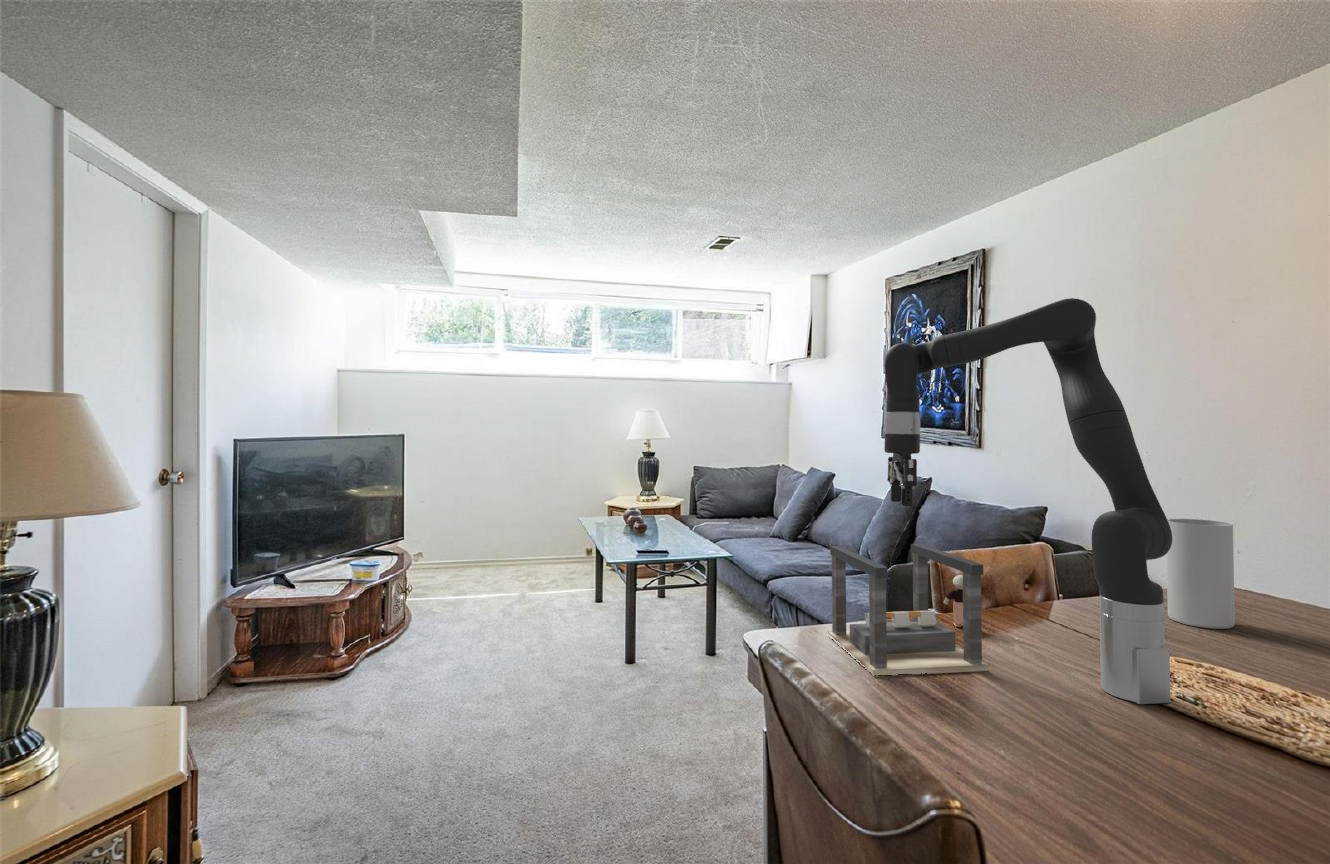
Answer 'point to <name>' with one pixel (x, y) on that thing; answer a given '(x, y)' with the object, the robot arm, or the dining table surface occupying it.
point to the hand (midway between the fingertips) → (901, 503)
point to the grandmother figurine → (956, 600)
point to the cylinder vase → (1201, 573)
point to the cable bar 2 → (948, 559)
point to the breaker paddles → (903, 617)
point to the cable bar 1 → (859, 562)
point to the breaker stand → (908, 629)
